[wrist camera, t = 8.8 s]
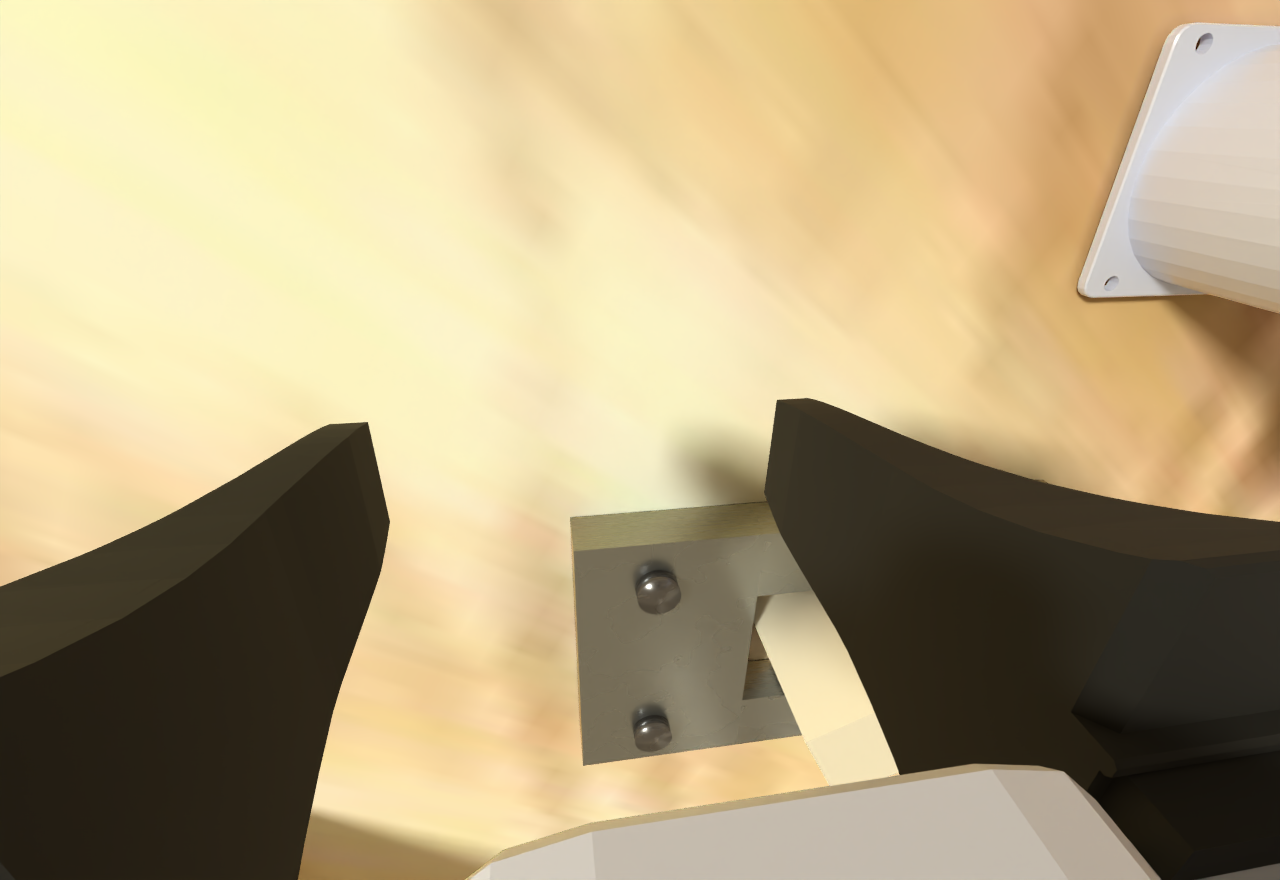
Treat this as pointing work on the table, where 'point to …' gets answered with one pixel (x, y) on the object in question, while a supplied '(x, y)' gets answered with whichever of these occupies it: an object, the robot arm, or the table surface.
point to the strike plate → (677, 629)
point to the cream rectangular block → (822, 688)
